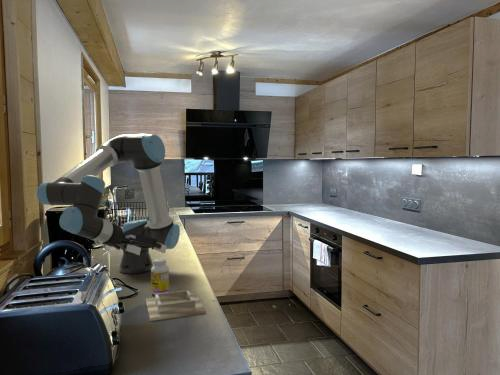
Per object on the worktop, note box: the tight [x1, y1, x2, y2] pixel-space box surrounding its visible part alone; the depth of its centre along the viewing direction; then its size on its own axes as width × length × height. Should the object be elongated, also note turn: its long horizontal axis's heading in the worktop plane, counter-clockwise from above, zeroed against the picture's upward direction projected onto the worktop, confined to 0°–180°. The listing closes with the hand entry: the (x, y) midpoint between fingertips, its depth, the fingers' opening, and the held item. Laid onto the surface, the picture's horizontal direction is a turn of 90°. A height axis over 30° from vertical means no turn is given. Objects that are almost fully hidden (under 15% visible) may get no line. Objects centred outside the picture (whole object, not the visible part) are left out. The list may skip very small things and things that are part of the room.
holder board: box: [145, 289, 207, 322], centre depth 131 cm, size 18×18×4 cm
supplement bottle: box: [150, 257, 170, 296], centre depth 146 cm, size 7×7×13 cm
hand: (152, 250), depth 143 cm, fingers open, 13 cm apart
